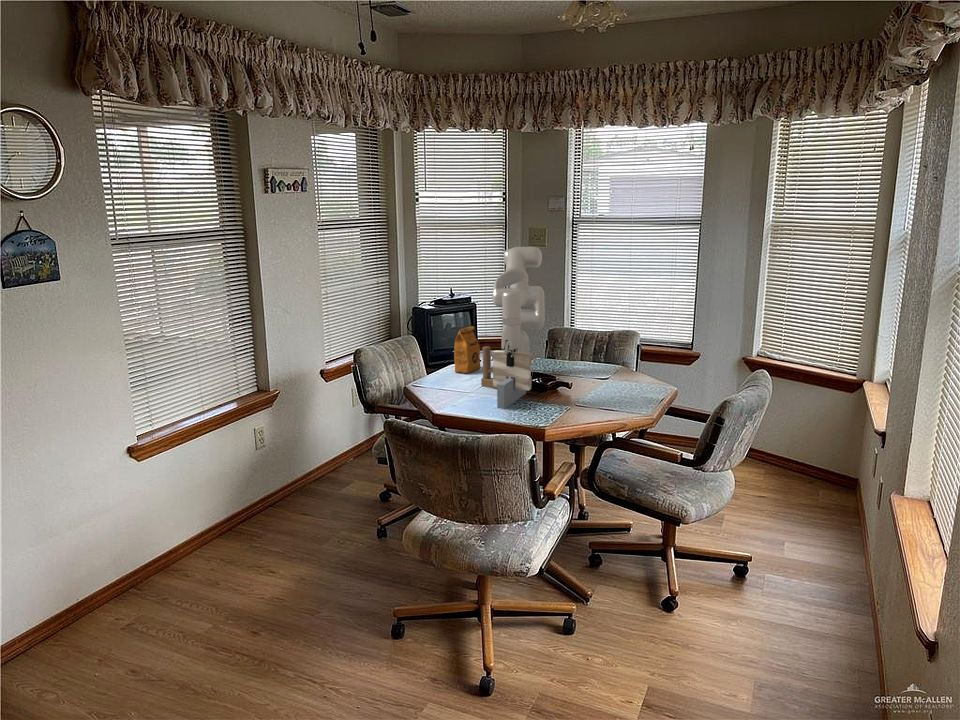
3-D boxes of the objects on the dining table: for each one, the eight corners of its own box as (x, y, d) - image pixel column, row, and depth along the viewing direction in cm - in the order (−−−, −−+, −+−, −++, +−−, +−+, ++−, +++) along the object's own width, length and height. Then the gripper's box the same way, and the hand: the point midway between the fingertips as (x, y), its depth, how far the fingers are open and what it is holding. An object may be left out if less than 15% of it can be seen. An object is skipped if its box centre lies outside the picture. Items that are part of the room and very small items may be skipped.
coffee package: (483, 370, 332) (482, 326, 327) (467, 375, 323) (466, 330, 318) (468, 367, 338) (467, 324, 333) (451, 372, 329) (450, 328, 324)
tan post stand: (500, 389, 298) (499, 350, 294) (481, 386, 304) (480, 347, 300) (505, 387, 301) (504, 348, 297) (486, 384, 307) (485, 345, 303)
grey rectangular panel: (519, 392, 293) (519, 370, 291) (526, 393, 292) (526, 371, 289) (497, 408, 272) (497, 384, 270) (504, 409, 271) (503, 385, 268)
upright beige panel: (496, 384, 285) (495, 350, 282) (531, 388, 278) (531, 353, 275) (493, 386, 282) (492, 351, 279) (528, 390, 276) (528, 354, 272)
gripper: (510, 317, 283) (511, 360, 287) (495, 324, 268) (495, 369, 273) (527, 318, 280) (527, 362, 284) (512, 325, 265) (512, 370, 269)
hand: (511, 365), depth 278 cm, fingers closed on upright beige panel, 3 cm apart
